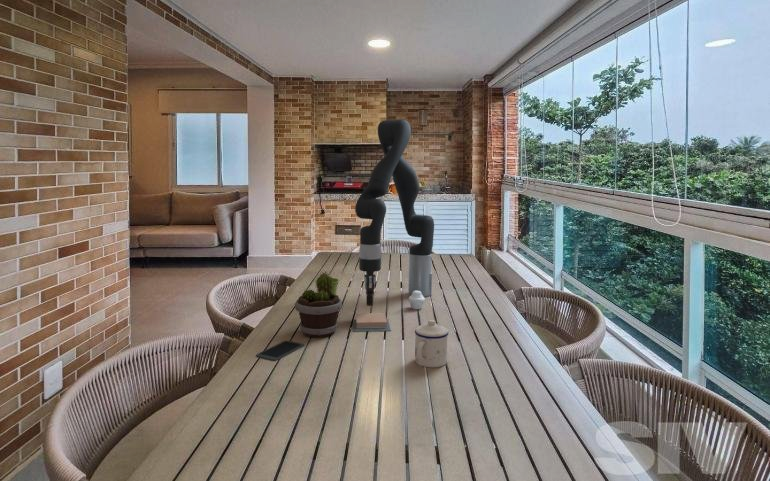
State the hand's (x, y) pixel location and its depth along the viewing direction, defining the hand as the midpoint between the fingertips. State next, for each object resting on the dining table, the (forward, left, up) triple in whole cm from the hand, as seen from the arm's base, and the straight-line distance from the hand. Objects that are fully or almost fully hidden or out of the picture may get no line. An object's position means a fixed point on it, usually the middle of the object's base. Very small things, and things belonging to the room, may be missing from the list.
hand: (369, 305), depth 170 cm
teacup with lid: (-14, +40, -5) cm, 43 cm away
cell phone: (+27, +29, -5) cm, 40 cm away
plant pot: (+16, -22, -5) cm, 27 cm away
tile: (0, +1, -4) cm, 4 cm away
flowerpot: (+17, +14, -5) cm, 23 cm away
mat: (0, +8, -5) cm, 9 cm away
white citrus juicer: (-18, -12, -5) cm, 22 cm away
